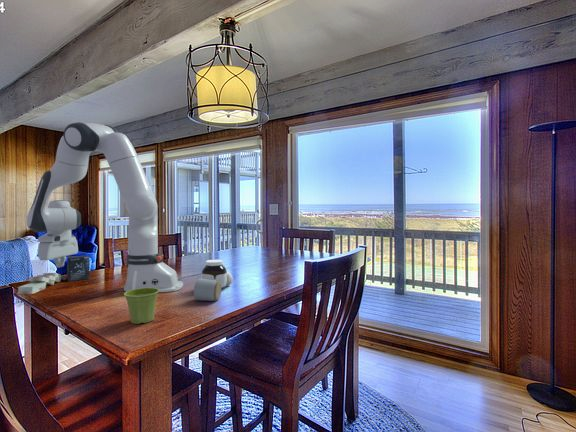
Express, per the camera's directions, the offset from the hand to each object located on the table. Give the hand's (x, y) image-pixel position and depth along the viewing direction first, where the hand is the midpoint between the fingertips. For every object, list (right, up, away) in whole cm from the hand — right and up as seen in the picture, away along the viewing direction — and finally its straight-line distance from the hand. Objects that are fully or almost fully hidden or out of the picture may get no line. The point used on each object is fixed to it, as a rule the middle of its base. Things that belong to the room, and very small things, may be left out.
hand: (60, 266), depth 142 cm
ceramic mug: (+74, -8, -27) cm, 79 cm away
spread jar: (+74, -7, -12) cm, 75 cm away
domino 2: (+2, -6, -15) cm, 16 cm away
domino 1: (+2, -5, -14) cm, 14 cm away
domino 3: (+1, -6, -9) cm, 10 cm away
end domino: (0, -5, 0) cm, 5 cm away
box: (+7, -6, +2) cm, 10 cm away
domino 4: (+1, -5, -4) cm, 7 cm away
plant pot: (+60, -8, -49) cm, 78 cm away
